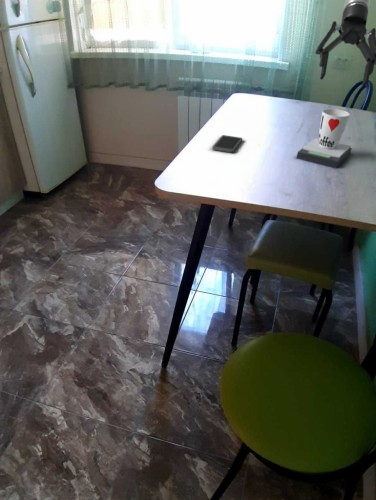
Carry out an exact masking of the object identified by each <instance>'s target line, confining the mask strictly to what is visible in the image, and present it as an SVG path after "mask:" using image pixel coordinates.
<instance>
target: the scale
mask: <svg viewBox="0 0 376 500" xmlns="http://www.w3.org/2000/svg"><path fill="white" fill-rule="evenodd" d="M352 149H353V148H352V146H351V145H349V144H344V143H341V142H338V144H337V146H336V147H335V148H334V149H324V148H321V147H320V146H319V137H315V138H314V139H312V140H311V141H310V142H308V143H307V144H306V145H304V146H303V147H302V148H301V149H300V150H298V151H297V154H296V159H298V160H302V161H306V162H309V163H315V164H319V165H322V166H326V167H330V168H333V169H334V168H335V169H337V168H338V167H339V166H340V165H341V164H342V163H343V162H344V160H346V159H347V158H348V157H349V156H350V155H351V153H352Z"/></svg>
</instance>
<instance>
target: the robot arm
mask: <svg viewBox="0 0 376 500" xmlns="http://www.w3.org/2000/svg"><path fill="white" fill-rule="evenodd" d="M370 3H371V0H344V5H343V12H342V15H341V22H340V24H337V21H336V20H334V21H332V23H331V25H330V27H329V29H328V32H326V35H325V36H324V37H323V39H322V40H321V41H320V43H319V44H318V46H317V47H316V50H315V52H314V53H315V55H318V56H319V67H321V71H320V77H319V79H320V80H323V79H324V78H325V76H326V74H327V69H328V63H329V56H330V52H332V50H333V49H335V48H336V47H337V46H338V45H340V44H342V42H343V43H344V44H350V45H352V46H354V45H355V46H356V48H358V49H359V51H360V53H361V54H362V56H363V58H364V59H365V62H366V65H365V68H364V73H363V78H362V84H361V87H363V88H364V87H366V85H368V83H369V79H370V76H371V75H372V73H373V72H374V68H375V65H376V28H375V27H373V28H371V29H367V22H368V15H369V10H370ZM337 31H338V34H339V35H338V36H337V37H336V38H335V39H334V40H333V41H331V42H330V43H329V44H328V45H326V44H327V43H328V41H329V40H330V39H331V38H332V35H333V34H335V33H336V32H337ZM367 42H368V43H367Z"/></svg>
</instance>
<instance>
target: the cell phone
mask: <svg viewBox="0 0 376 500" xmlns="http://www.w3.org/2000/svg"><path fill="white" fill-rule="evenodd" d="M242 141H243V137H239V136H233V135H227V134H226V135H225V134H224V135H223V134H222V135H221V136H220V137H219V138H218V140H217V141H216V142H215V143H214V144H213V145H212V146H211V147H212V148H211V149H212V150H213V151H217V152H218V151H219V152H225V153H230V154H231V153H234V152H236V150H237V149H238V147H239V146H240V145H241V143H242Z"/></svg>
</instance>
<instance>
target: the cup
mask: <svg viewBox="0 0 376 500" xmlns="http://www.w3.org/2000/svg"><path fill="white" fill-rule="evenodd" d="M321 112H322V113H321V119H320V124H319V130H318V131H319V132H318V139H319V146H320V147H321V148H324V149H334V148H335V147H336V146H337V144H338V143H340V141H341V138H342V137H343V135H344V133H345V132H344V131H345V130H346V127H347V123H348V121H349V118H350V115H351V113H350V112H348V111H345V110H342V109H337V108H325V109H323V110H322V111H321Z"/></svg>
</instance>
